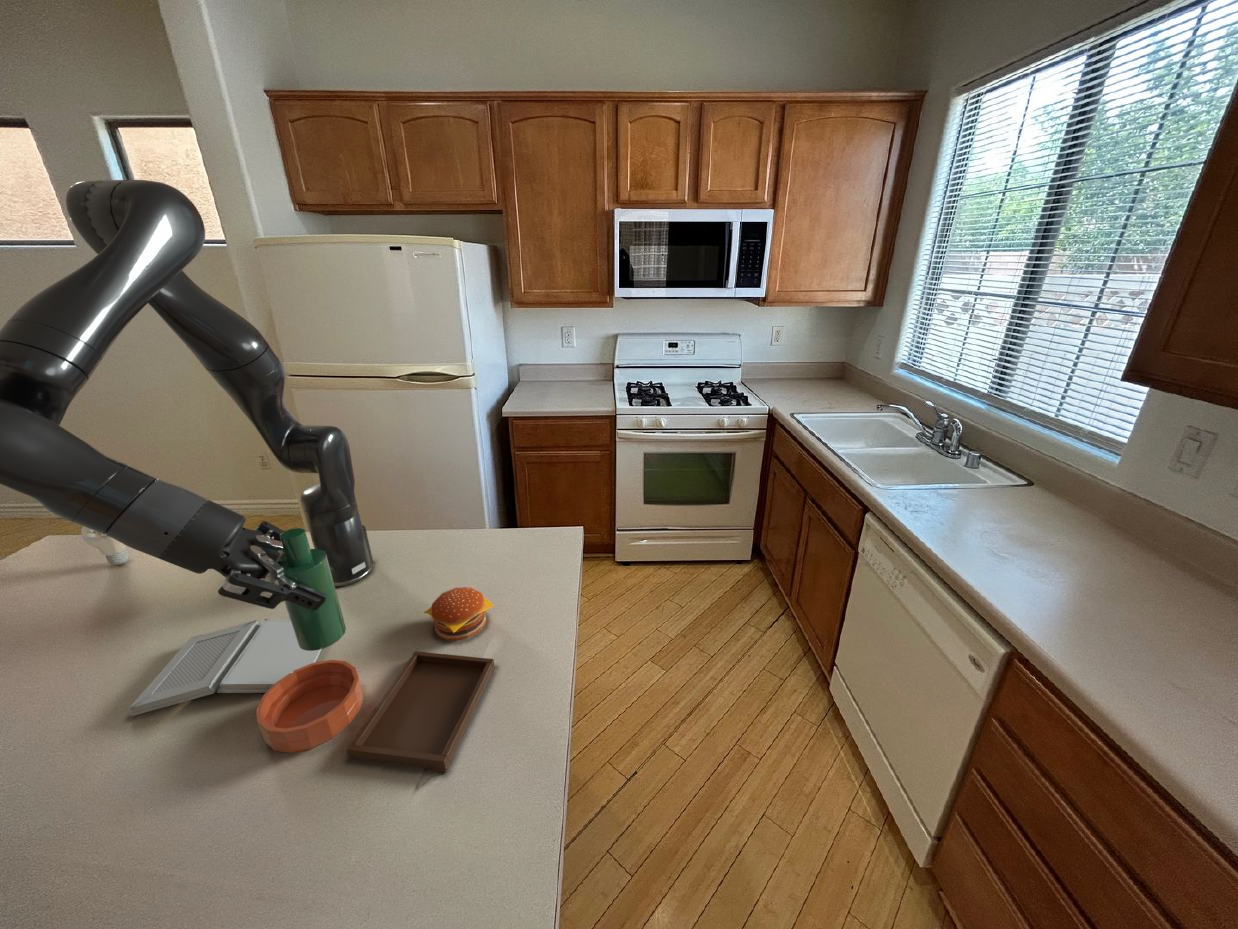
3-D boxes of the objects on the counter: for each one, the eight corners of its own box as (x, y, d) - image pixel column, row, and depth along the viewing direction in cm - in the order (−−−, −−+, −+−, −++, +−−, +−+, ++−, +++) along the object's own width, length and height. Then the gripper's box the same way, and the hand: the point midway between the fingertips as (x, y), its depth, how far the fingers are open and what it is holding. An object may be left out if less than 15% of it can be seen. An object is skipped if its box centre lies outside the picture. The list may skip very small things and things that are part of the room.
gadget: (336, 626, 87) (332, 610, 86) (304, 692, 73) (298, 674, 72) (193, 644, 83) (186, 627, 81) (131, 718, 69) (121, 699, 68)
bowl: (308, 678, 76) (301, 656, 74) (380, 685, 75) (375, 664, 73) (242, 749, 65) (232, 726, 63) (326, 760, 63) (318, 737, 62)
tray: (416, 660, 79) (414, 651, 79) (494, 668, 78) (493, 658, 77) (349, 760, 63) (346, 749, 62) (446, 772, 62) (444, 761, 61)
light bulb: (147, 561, 106) (126, 514, 101) (104, 577, 100) (79, 527, 96) (136, 552, 109) (115, 505, 105) (94, 567, 104) (70, 518, 99)
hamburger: (464, 602, 93) (460, 574, 91) (497, 621, 88) (494, 592, 86) (422, 629, 86) (416, 600, 84) (456, 652, 81) (451, 621, 79)
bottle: (318, 619, 67) (289, 520, 61) (354, 623, 66) (329, 523, 60) (287, 648, 62) (252, 543, 56) (327, 653, 61) (296, 547, 55)
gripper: (175, 531, 47) (337, 600, 56) (222, 477, 59) (349, 540, 68) (126, 588, 47) (296, 647, 56) (184, 522, 59) (316, 579, 68)
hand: (325, 588), depth 62 cm, fingers closed on bottle, 5 cm apart
